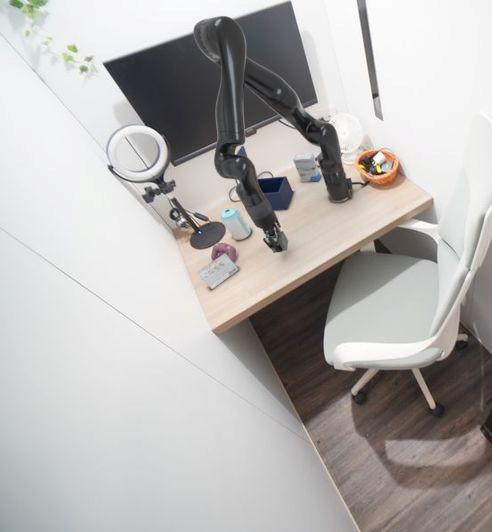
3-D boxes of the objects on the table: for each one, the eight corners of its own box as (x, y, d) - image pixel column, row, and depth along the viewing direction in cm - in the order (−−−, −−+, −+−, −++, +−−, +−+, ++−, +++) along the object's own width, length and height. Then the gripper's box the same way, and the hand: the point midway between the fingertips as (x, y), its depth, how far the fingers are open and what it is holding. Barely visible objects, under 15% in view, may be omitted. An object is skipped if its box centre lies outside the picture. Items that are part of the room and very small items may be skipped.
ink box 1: (208, 286, 115) (192, 269, 107) (235, 267, 120) (222, 249, 112) (212, 290, 113) (196, 272, 106) (239, 270, 118) (225, 252, 111)
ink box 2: (321, 175, 154) (313, 153, 145) (318, 181, 151) (310, 159, 142) (304, 175, 155) (295, 153, 146) (301, 181, 152) (292, 159, 143)
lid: (243, 145, 130) (231, 145, 130) (233, 162, 122) (220, 161, 122) (255, 178, 141) (243, 177, 141) (246, 195, 134) (234, 194, 133)
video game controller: (240, 260, 124) (237, 244, 121) (230, 265, 120) (227, 247, 117) (220, 256, 127) (217, 239, 124) (210, 260, 123) (206, 243, 120)
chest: (293, 192, 147) (286, 176, 141) (287, 209, 139) (279, 192, 133) (263, 195, 148) (254, 179, 142) (255, 212, 141) (246, 195, 134)
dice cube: (287, 250, 116) (281, 240, 113) (273, 252, 116) (268, 243, 113) (288, 240, 120) (283, 231, 116) (275, 243, 120) (269, 233, 116)
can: (230, 239, 130) (214, 217, 121) (241, 227, 134) (226, 205, 125) (244, 241, 128) (229, 219, 119) (254, 230, 133) (240, 207, 123)
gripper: (268, 223, 100) (289, 258, 113) (273, 195, 109) (292, 230, 122) (245, 227, 100) (268, 262, 113) (252, 199, 109) (273, 234, 122)
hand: (280, 245), depth 118 cm, fingers closed on dice cube, 5 cm apart
